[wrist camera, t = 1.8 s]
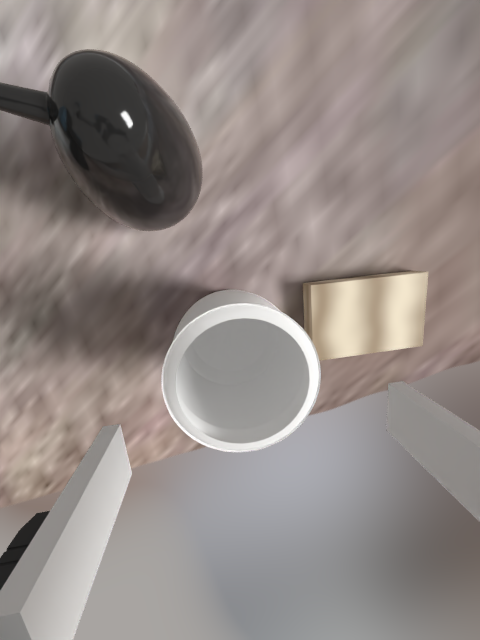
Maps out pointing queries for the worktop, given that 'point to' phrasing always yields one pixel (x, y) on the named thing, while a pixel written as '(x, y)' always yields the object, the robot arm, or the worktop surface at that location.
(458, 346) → the worktop surface
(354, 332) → the birch trivet
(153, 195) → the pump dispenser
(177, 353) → the white cup
